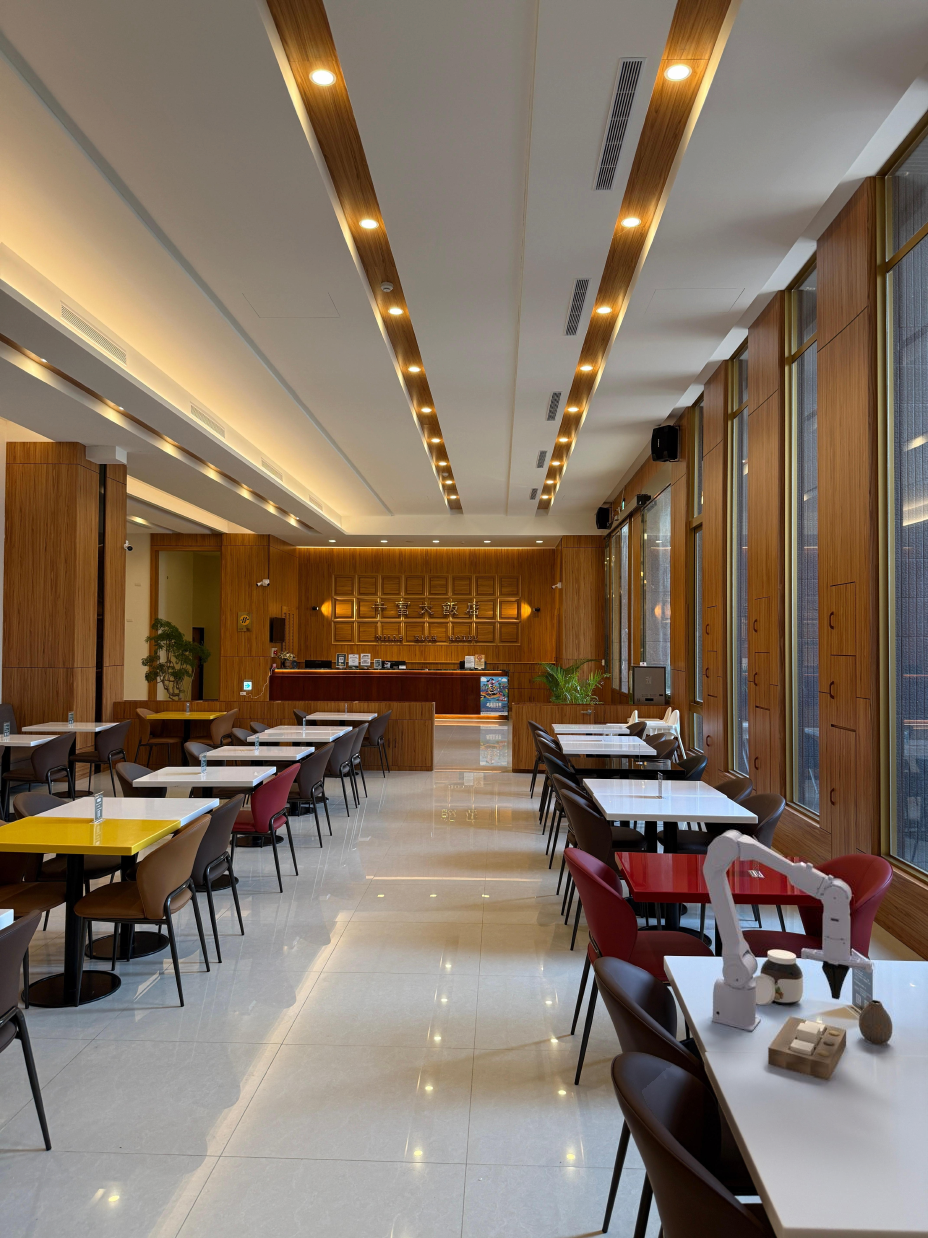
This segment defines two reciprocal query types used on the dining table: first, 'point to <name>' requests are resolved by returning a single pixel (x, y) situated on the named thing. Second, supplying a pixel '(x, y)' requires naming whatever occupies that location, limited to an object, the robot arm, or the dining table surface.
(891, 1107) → the dining table surface
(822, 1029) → the button
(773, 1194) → the dining table surface
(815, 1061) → the button board
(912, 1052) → the dining table surface
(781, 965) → the spread jar
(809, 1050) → the button
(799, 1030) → the button middle
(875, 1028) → the vase
